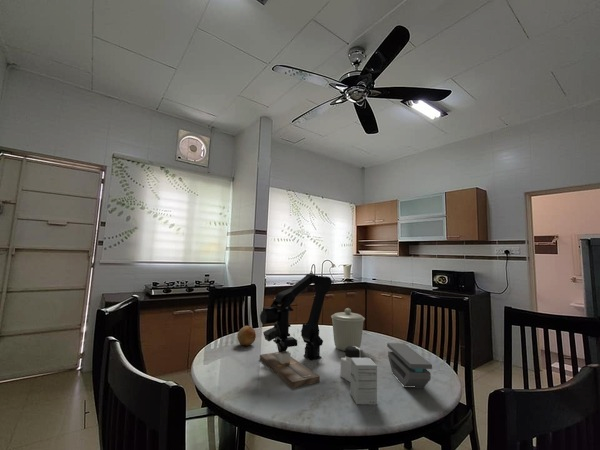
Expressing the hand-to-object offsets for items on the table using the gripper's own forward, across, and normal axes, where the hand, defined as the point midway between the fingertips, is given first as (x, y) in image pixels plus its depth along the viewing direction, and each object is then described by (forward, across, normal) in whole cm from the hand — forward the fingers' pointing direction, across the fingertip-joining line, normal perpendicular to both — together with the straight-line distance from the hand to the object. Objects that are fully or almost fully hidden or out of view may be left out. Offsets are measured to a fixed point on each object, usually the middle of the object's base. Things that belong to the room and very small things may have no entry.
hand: (281, 357), depth 126 cm
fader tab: (+1, +3, 0) cm, 4 cm away
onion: (+3, -32, -5) cm, 33 cm away
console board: (+3, +6, 0) cm, 7 cm away
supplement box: (+3, +40, +12) cm, 42 cm away
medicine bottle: (+3, +25, +20) cm, 32 cm away
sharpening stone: (+3, +36, +39) cm, 53 cm away
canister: (+3, -6, +42) cm, 42 cm away
